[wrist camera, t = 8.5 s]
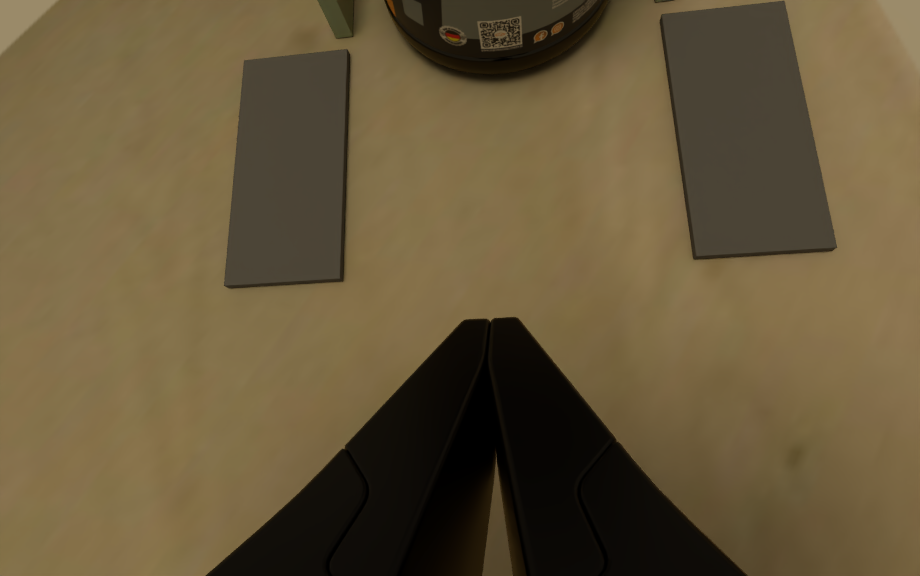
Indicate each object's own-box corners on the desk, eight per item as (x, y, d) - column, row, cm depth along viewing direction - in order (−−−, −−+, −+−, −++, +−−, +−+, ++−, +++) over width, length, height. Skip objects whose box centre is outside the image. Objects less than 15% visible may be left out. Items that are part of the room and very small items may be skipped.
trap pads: (832, 250, 22) (837, 247, 21) (229, 288, 24) (223, 285, 24) (780, 7, 25) (784, 0, 24) (248, 65, 27) (244, 60, 27)
